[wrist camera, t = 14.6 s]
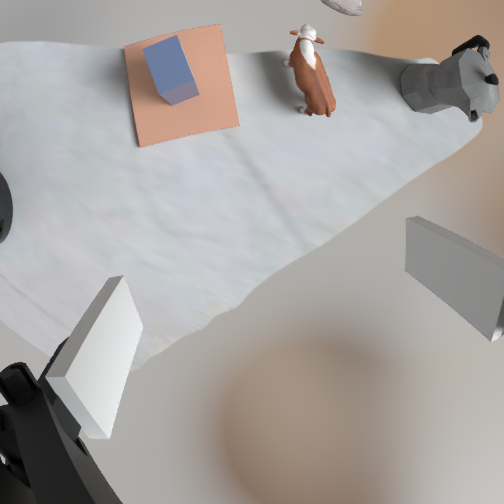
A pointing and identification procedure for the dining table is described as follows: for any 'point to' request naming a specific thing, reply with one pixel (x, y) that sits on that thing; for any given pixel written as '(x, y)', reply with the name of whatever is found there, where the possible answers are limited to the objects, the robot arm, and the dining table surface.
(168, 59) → the block
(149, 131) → the plate
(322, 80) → the bull figurine
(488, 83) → the coffeepot
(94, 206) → the dining table surface
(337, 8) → the fossil
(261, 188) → the dining table surface
